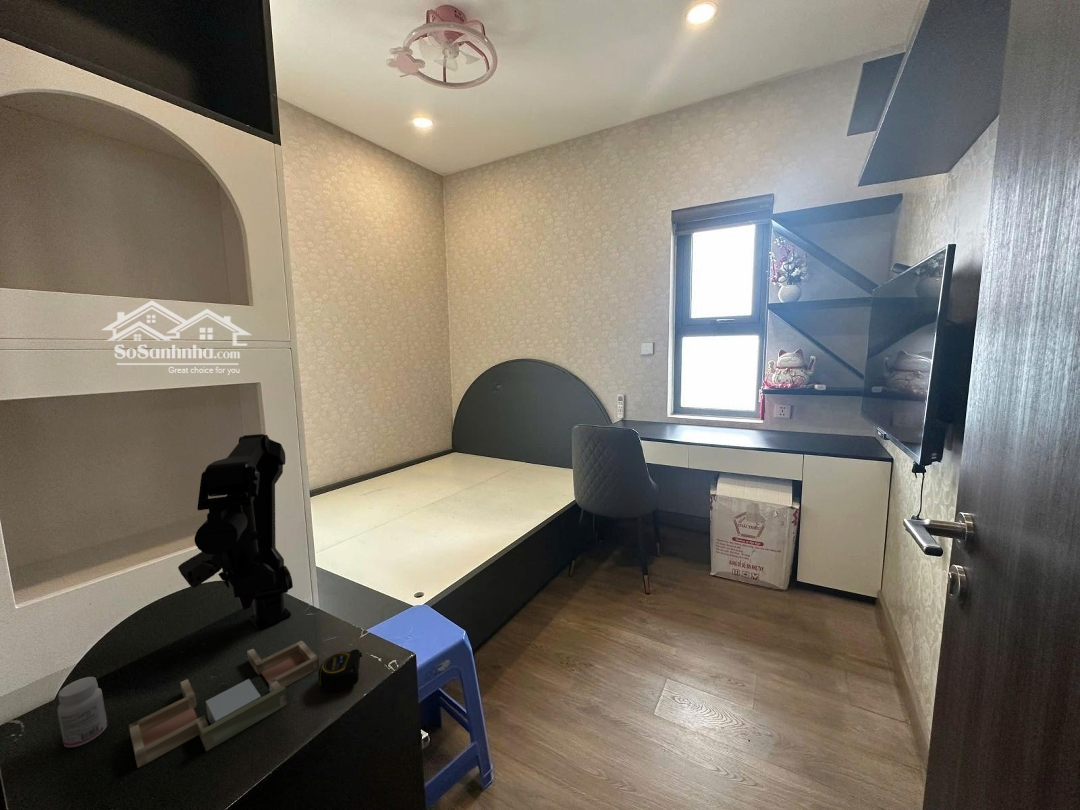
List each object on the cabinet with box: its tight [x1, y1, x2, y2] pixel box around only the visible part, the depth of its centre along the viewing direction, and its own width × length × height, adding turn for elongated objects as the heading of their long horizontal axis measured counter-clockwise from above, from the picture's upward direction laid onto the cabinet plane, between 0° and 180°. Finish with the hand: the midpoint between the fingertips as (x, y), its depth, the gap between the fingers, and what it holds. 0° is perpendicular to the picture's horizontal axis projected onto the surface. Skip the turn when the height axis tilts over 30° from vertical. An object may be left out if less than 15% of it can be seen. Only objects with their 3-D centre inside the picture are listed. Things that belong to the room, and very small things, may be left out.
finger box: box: [128, 640, 320, 769], centre depth 73 cm, size 18×25×3 cm
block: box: [205, 678, 262, 725], centre depth 69 cm, size 6×6×4 cm
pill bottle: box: [57, 676, 108, 748], centre depth 66 cm, size 5×5×8 cm
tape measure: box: [318, 648, 363, 692], centre depth 76 cm, size 7×7×4 cm
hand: (246, 608), depth 79 cm, fingers closed
